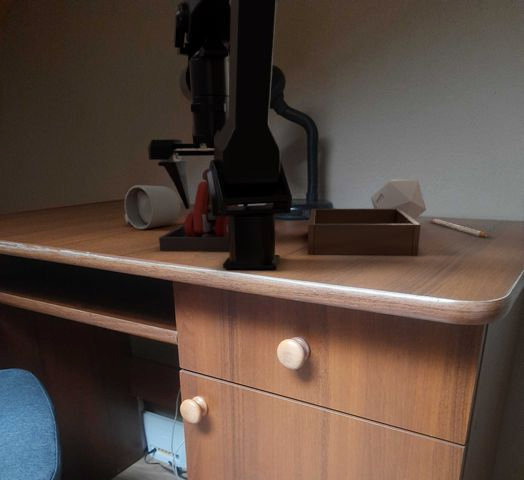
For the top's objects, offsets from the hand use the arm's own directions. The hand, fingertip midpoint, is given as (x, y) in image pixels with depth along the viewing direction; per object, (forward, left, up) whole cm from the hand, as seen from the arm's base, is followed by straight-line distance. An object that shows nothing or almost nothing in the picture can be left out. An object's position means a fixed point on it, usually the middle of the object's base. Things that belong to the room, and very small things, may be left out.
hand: (216, 208), depth 77 cm
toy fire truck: (0, 0, -5) cm, 5 cm away
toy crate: (-2, -22, -5) cm, 23 cm away
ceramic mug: (+14, +16, -5) cm, 22 cm away
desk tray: (0, 0, -5) cm, 5 cm away
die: (+15, -30, -5) cm, 34 cm away
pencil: (+12, -40, -5) cm, 42 cm away
